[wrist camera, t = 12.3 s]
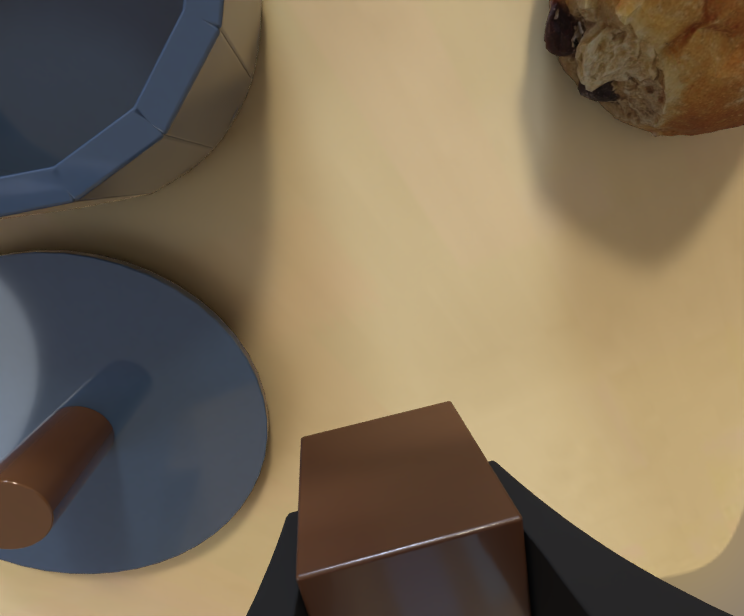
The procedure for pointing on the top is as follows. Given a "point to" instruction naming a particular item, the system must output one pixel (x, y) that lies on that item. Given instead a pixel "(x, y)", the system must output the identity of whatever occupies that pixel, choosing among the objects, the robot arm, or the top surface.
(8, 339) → the bowl lid
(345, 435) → the block
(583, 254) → the top surface
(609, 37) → the bread roll
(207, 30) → the bowl
